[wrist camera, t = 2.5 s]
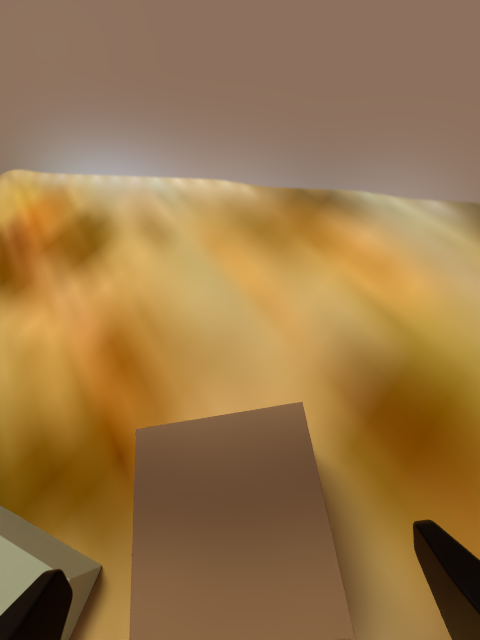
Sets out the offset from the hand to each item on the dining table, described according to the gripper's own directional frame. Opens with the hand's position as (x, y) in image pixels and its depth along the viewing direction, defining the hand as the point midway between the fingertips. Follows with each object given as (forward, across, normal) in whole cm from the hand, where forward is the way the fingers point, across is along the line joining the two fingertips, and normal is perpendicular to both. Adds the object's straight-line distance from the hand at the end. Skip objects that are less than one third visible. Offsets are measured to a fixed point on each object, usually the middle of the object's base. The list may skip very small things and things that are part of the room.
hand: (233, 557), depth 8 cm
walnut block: (+7, 0, +6) cm, 9 cm away
